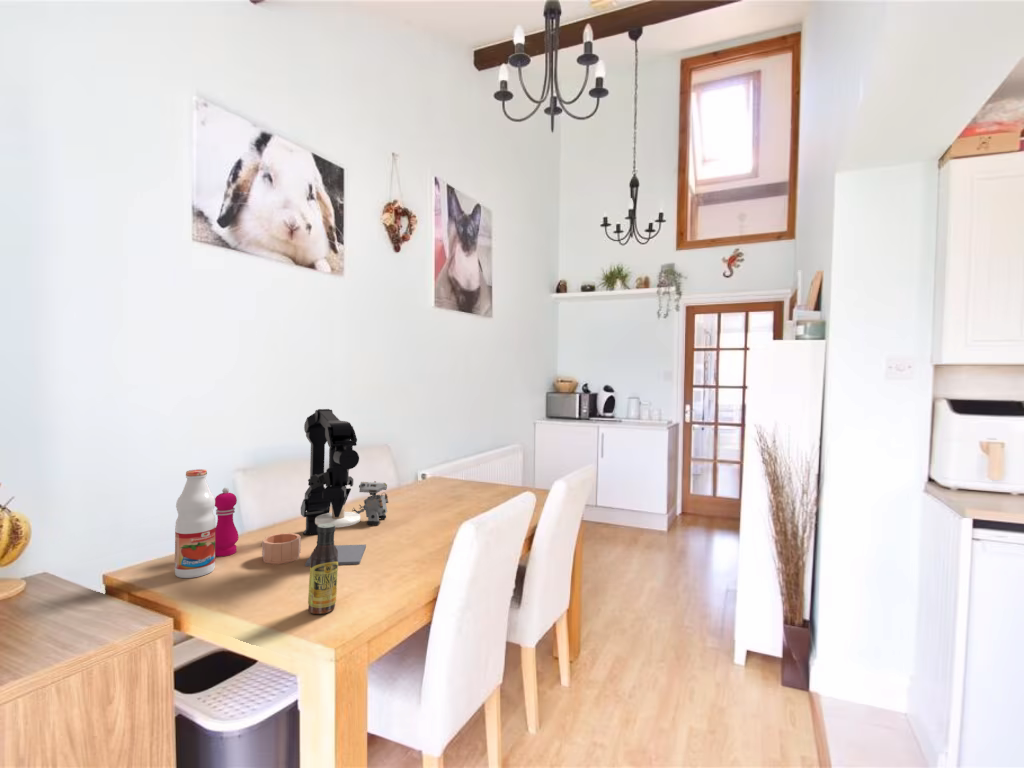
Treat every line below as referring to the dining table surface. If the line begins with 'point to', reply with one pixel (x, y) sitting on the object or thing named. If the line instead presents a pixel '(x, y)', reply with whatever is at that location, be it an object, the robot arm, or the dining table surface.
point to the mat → (347, 554)
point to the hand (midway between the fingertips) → (338, 515)
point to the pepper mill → (225, 524)
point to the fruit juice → (195, 527)
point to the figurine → (374, 502)
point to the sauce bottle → (323, 572)
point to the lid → (338, 518)
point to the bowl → (281, 548)
